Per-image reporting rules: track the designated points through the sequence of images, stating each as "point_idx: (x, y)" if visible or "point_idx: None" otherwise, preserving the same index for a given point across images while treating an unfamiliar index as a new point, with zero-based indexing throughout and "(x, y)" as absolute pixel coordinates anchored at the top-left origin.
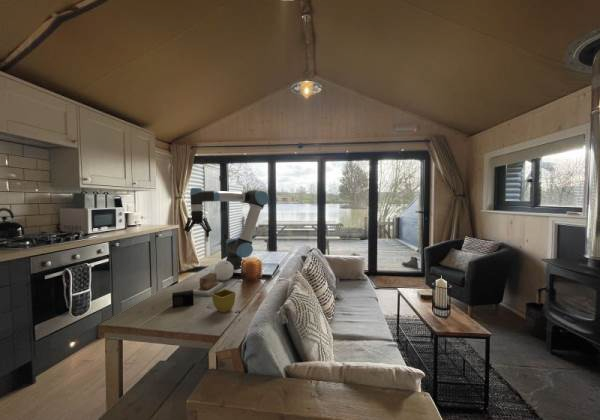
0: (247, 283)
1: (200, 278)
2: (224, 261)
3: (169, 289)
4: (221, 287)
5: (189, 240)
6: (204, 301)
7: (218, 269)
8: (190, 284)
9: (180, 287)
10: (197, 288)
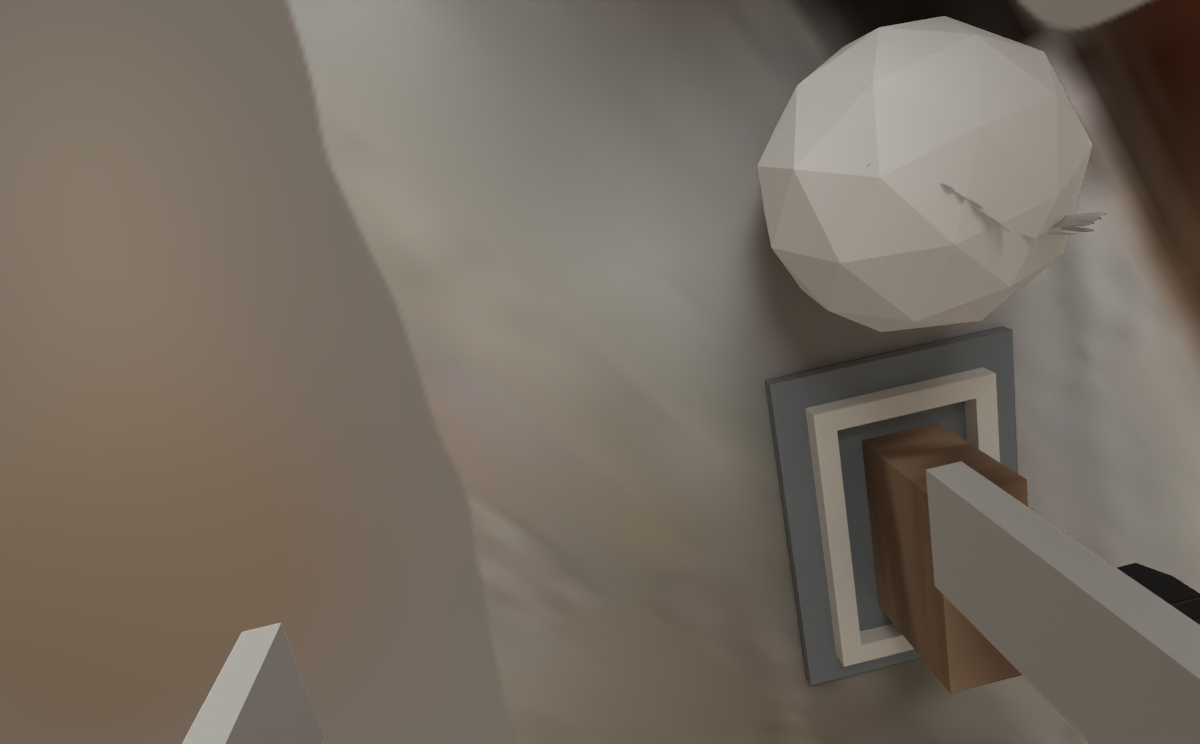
0: (1193, 171)
1: (959, 689)
2: (1017, 192)
3: (521, 683)
4: (1014, 438)
5: (306, 717)
6: (1038, 702)
7: (936, 323)
8: (597, 492)
9: (575, 600)
10: (848, 615)
